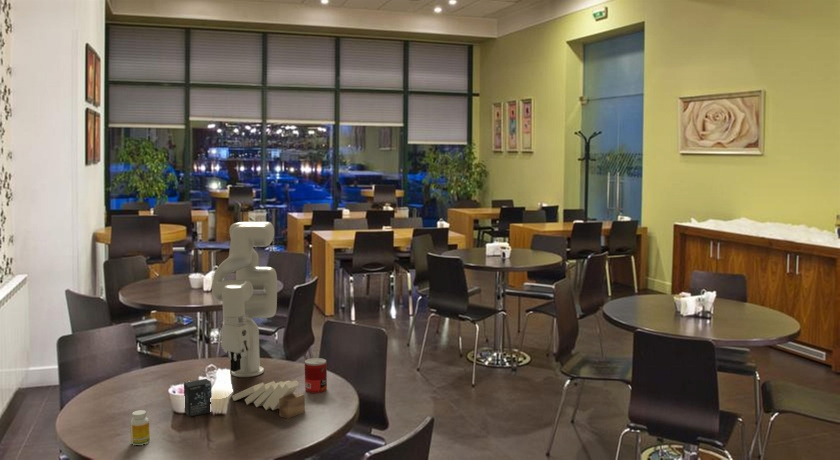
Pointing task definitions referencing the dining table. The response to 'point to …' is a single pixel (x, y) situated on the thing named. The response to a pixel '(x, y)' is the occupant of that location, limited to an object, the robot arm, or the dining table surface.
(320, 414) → the dining table surface
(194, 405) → the box
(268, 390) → the domino
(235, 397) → the domino
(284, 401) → the end block
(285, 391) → the domino
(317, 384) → the canned food
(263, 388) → the domino
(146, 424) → the supplement bottle
